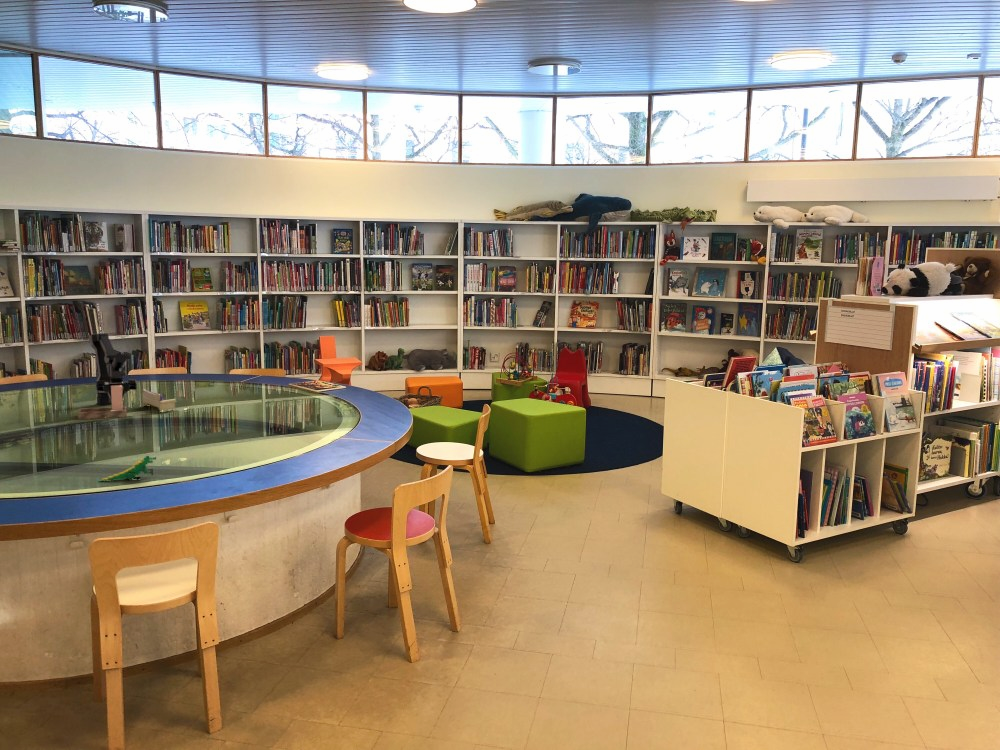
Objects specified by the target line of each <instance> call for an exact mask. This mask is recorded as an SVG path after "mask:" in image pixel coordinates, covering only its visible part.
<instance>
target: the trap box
mask: <svg viewBox="0 0 1000 750" xmlns="http://www.w3.org/2000/svg"><path fill="white" fill-rule="evenodd" d="M127 409H128V407H127V406H123V410H112V406H111V407H110V406H109V407H106V406H105V407H89V408H87V407H86V408H83V407H82V408H78V412H77V420H88V419H89V420H91V419H90V418H98V419H108V418H107V417H119V418H127V415H128V414H127V413H128V410H127ZM125 416H126V417H125ZM105 417H106V418H105Z"/></svg>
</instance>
